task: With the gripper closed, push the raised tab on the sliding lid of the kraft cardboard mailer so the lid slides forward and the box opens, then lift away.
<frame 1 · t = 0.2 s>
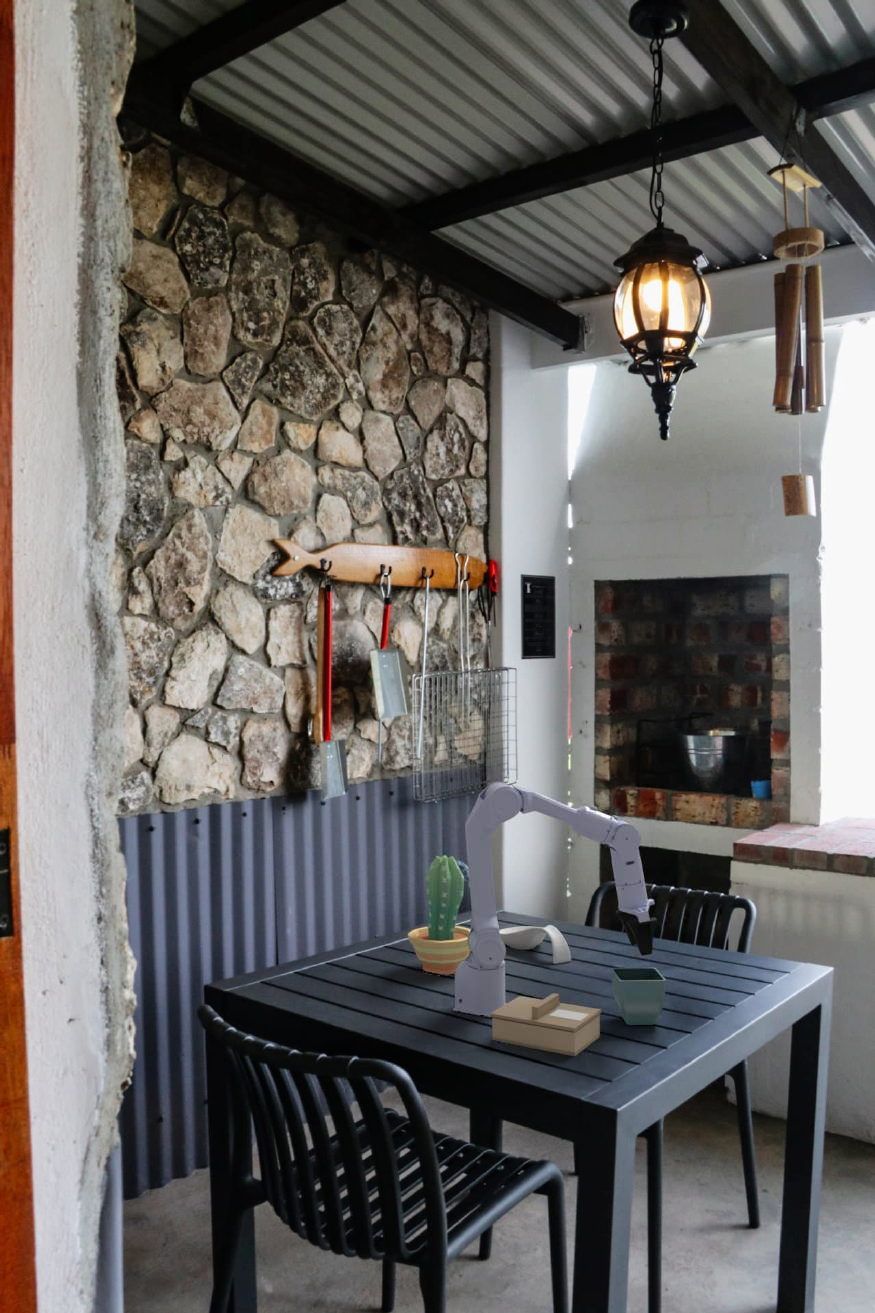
hand: (641, 949, 213), 11 cm above the table, tool pointing down, fingers open, 7 cm apart
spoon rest: (535, 953, 253), on the table
potted cactus: (442, 970, 238), on the table
flower pot: (638, 1022, 202), on the table
mailer lid: (545, 1007, 193), point 6 cm above the table, slide at 0.0 cm
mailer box: (546, 1039, 193), on the table
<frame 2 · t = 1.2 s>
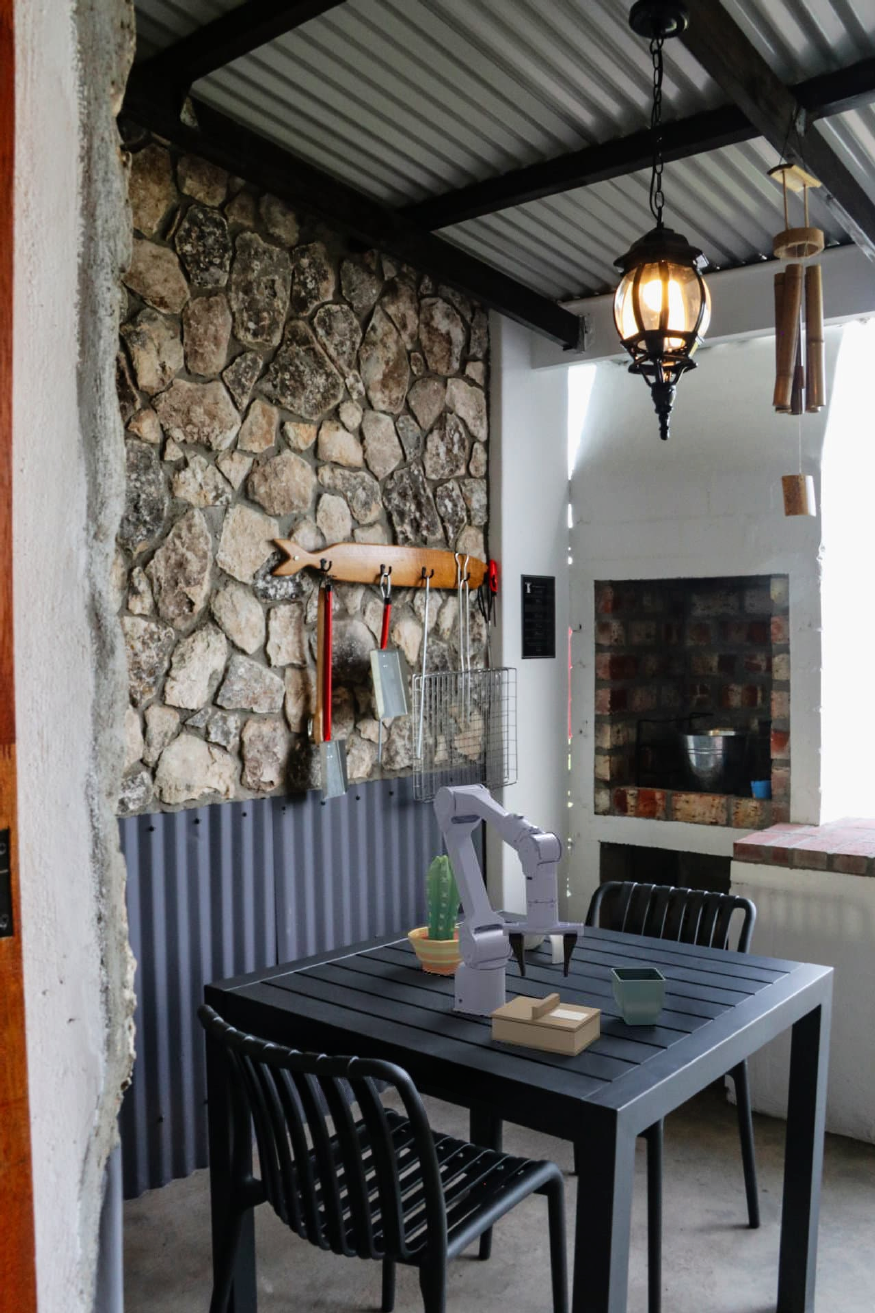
hand: (544, 975, 195), 11 cm above the table, tool pointing down, fingers open, 7 cm apart
nothing on the table moved.
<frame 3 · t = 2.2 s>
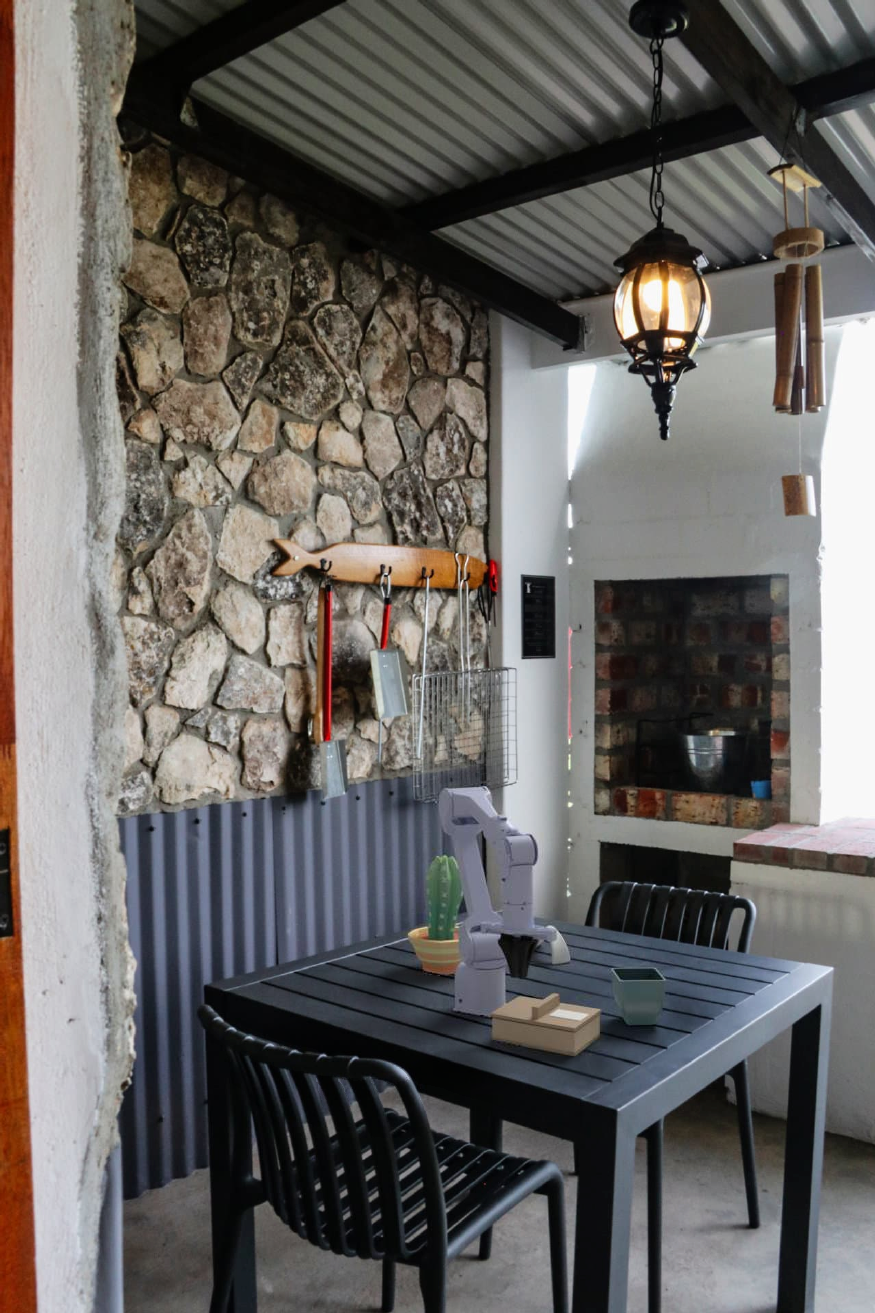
hand: (519, 977, 196), 10 cm above the table, tool pointing down, fingers closed
nothing on the table moved.
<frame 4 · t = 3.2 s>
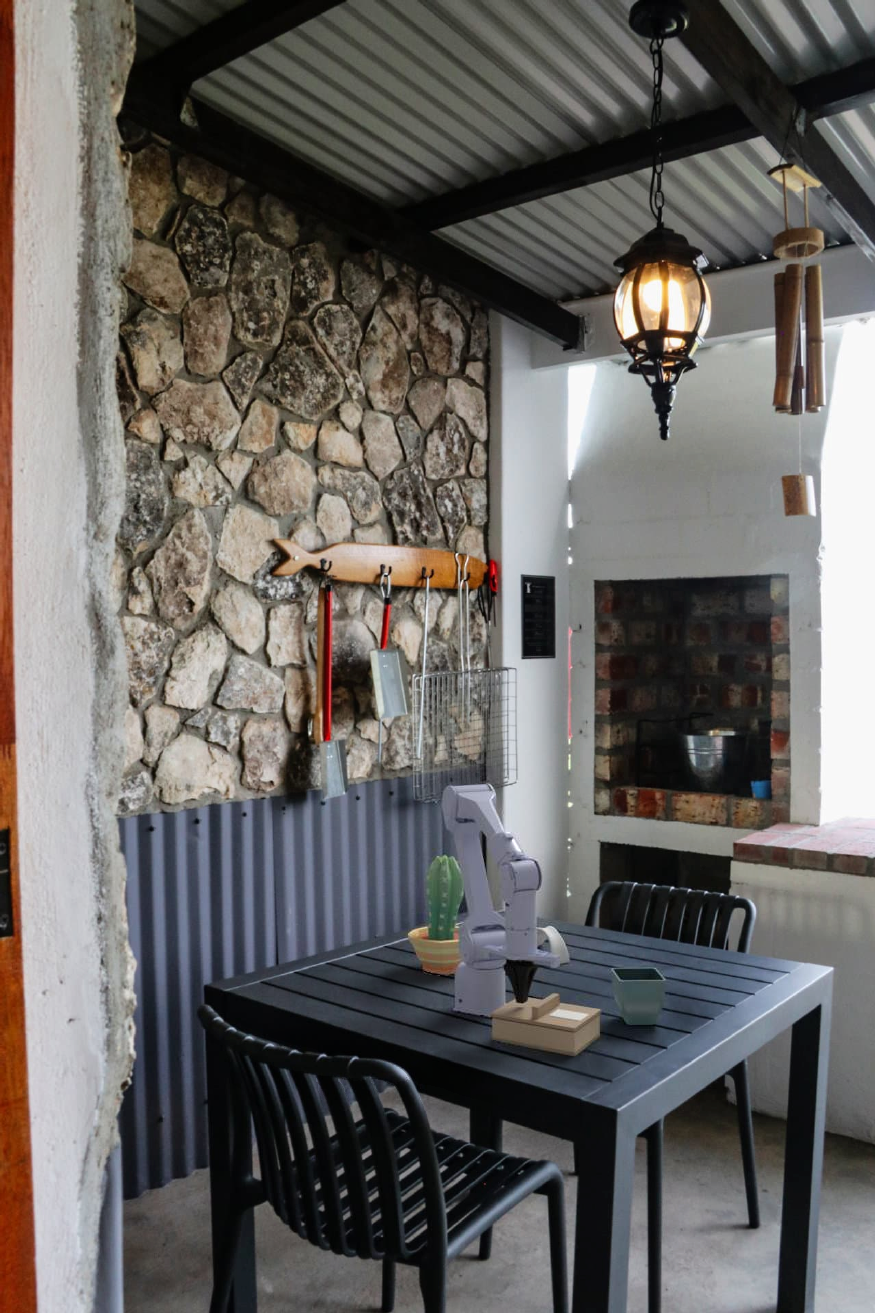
hand: (521, 1001, 196), 6 cm above the table, tool pointing down, fingers closed
nothing on the table moved.
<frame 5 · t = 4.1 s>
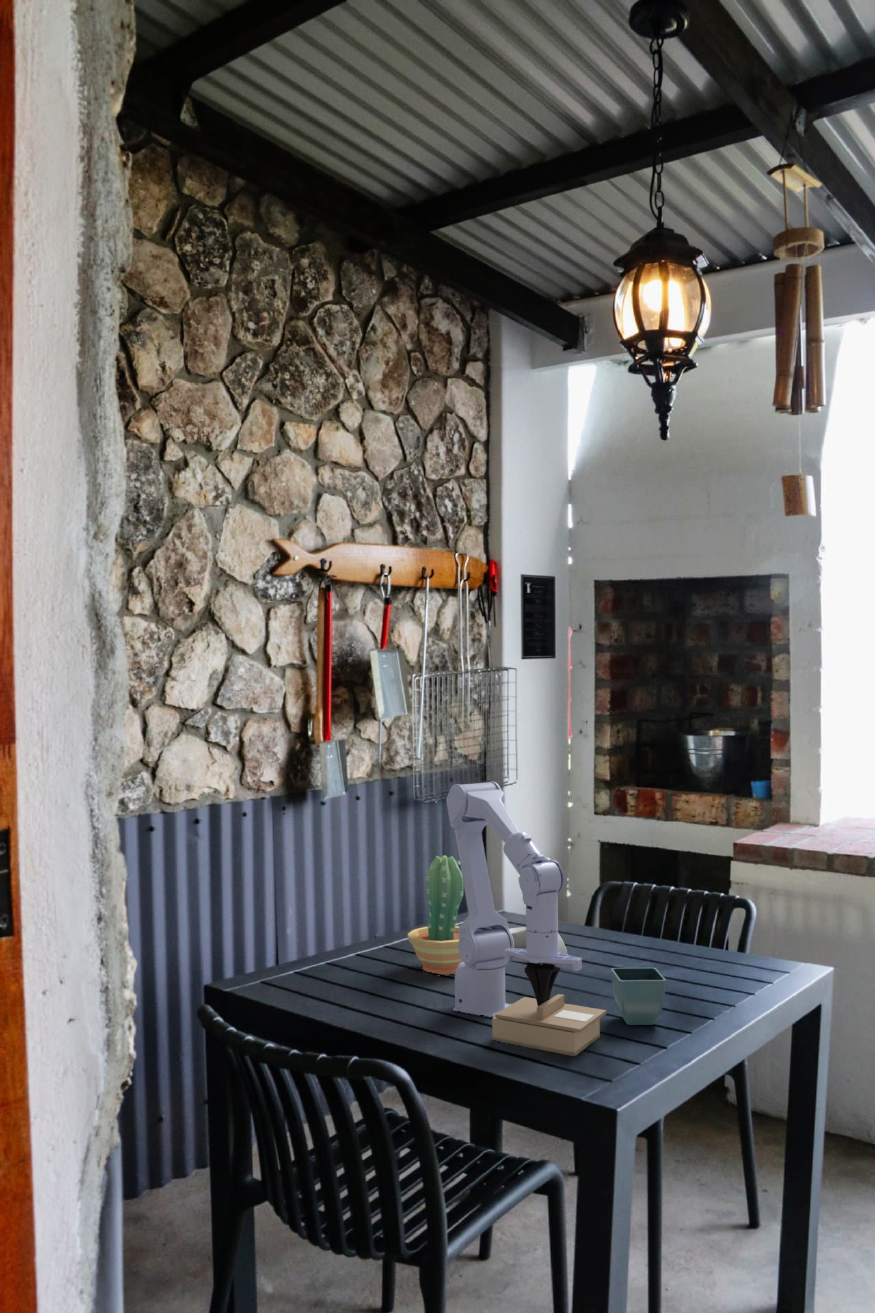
hand: (543, 1005, 194), 6 cm above the table, tool pointing down, fingers closed
mailer lid: (550, 1008, 193), point 6 cm above the table, slide at 1.0 cm, touching gripper
everything else where it was.
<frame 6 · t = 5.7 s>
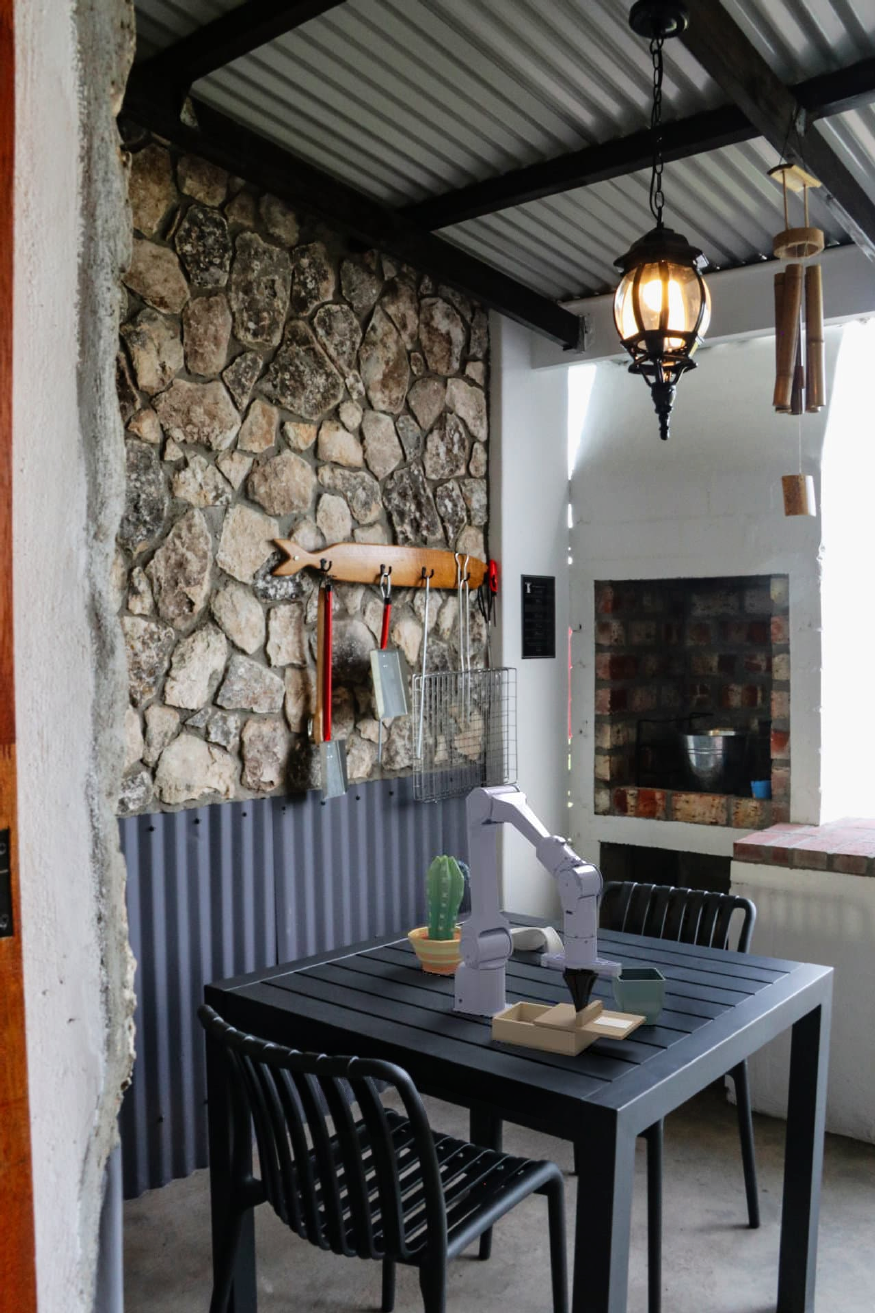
hand: (581, 1011, 190), 6 cm above the table, tool pointing down, fingers closed
mailer lid: (589, 1015, 189), point 6 cm above the table, slide at 8.4 cm, touching gripper
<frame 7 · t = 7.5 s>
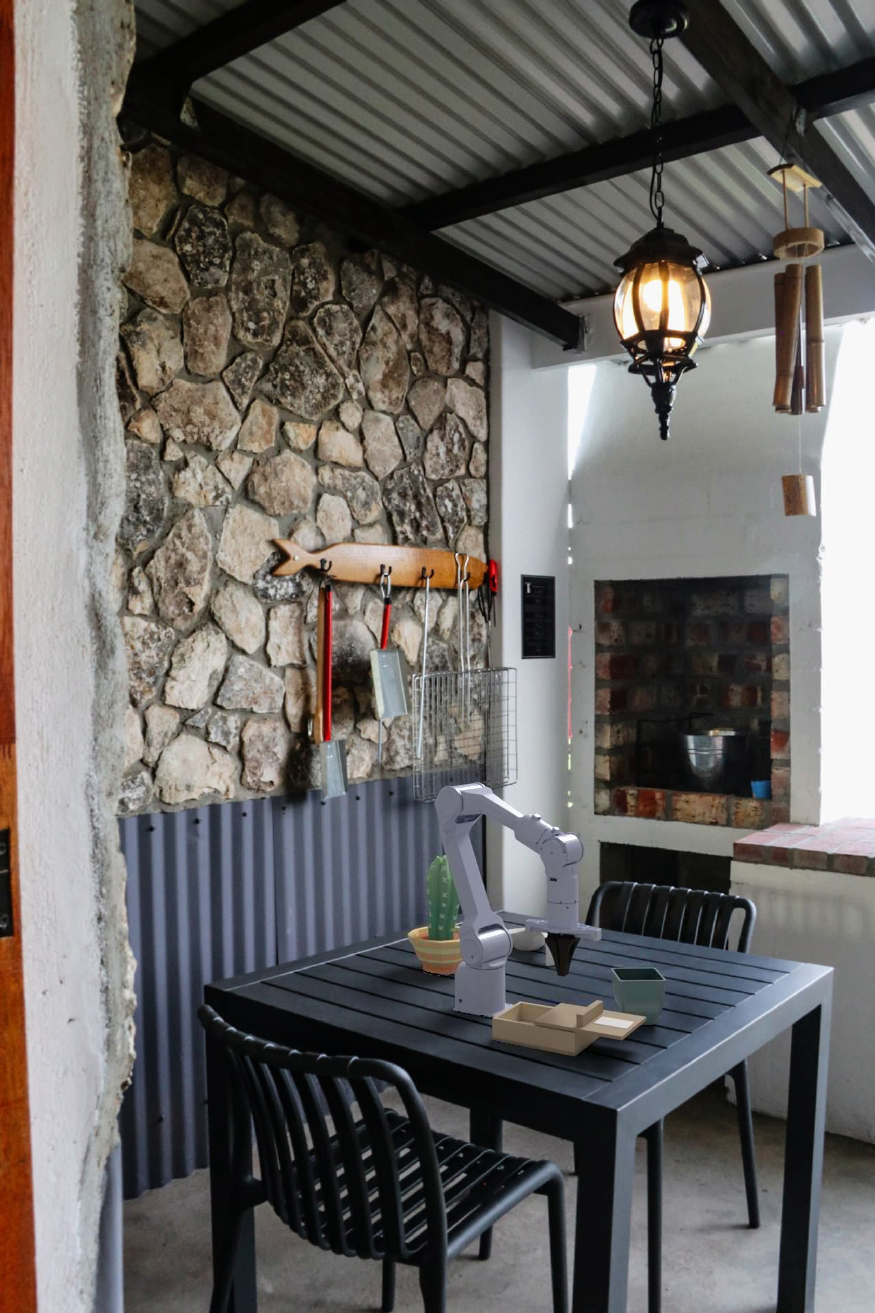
hand: (563, 975, 197), 10 cm above the table, tool pointing down, fingers closed
mailer lid: (590, 1015, 189), point 6 cm above the table, slide at 8.5 cm
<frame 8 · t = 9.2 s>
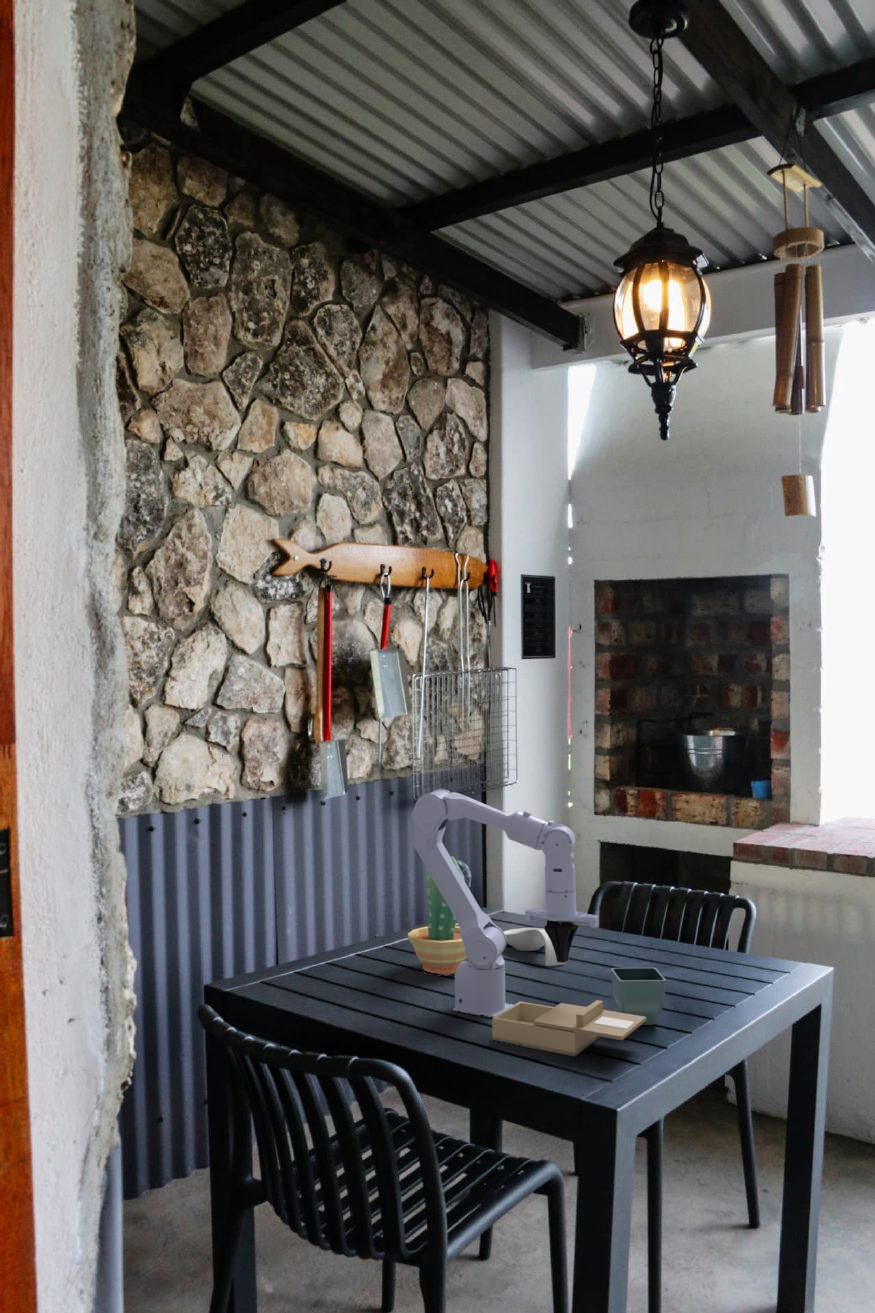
hand: (562, 961, 206), 10 cm above the table, tool pointing down, fingers closed
at the end: mailer lid slide at 8.5 cm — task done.
